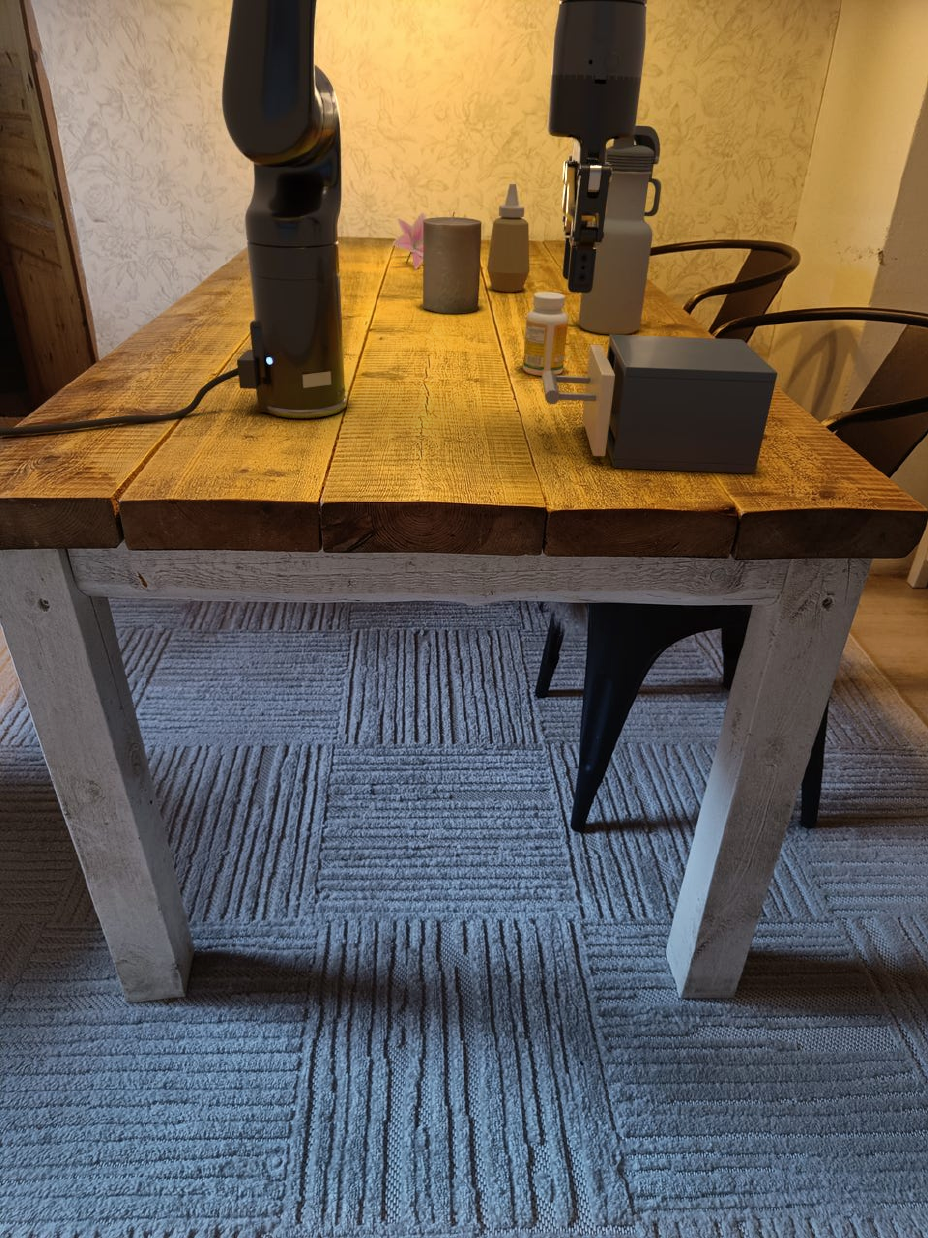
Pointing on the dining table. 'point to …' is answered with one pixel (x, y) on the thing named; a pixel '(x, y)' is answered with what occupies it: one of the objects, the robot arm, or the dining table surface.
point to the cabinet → (689, 404)
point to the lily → (412, 239)
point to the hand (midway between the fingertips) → (576, 284)
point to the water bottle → (624, 238)
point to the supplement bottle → (545, 334)
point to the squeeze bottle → (509, 246)
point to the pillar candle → (451, 264)
